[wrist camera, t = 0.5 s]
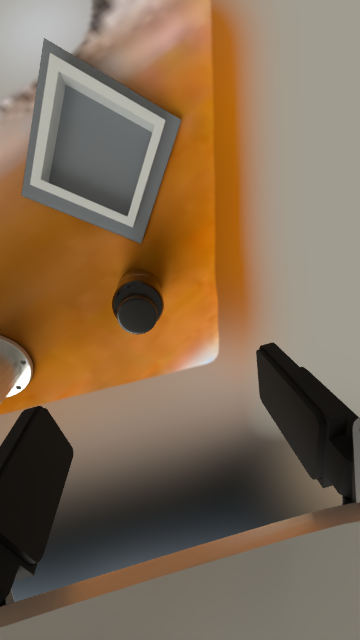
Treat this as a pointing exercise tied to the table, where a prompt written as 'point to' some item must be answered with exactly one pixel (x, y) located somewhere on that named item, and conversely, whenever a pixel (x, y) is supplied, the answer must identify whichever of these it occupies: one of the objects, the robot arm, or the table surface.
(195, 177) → the table surface
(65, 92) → the rimmed tray
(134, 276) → the supplement bottle
